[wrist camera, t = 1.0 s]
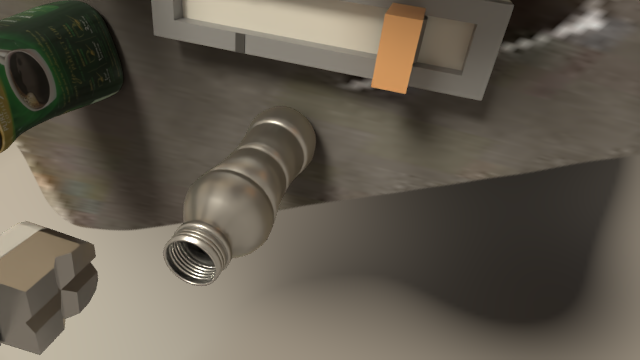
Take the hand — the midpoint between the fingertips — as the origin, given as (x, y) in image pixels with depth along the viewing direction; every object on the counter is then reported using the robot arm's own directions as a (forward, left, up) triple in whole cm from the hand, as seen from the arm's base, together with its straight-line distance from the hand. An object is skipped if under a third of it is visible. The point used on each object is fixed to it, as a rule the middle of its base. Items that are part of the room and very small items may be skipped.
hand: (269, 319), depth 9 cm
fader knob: (-1, 0, -29) cm, 29 cm away
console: (+6, 0, -31) cm, 32 cm away
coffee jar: (+30, +7, -32) cm, 44 cm away
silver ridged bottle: (+8, +11, -32) cm, 35 cm away
